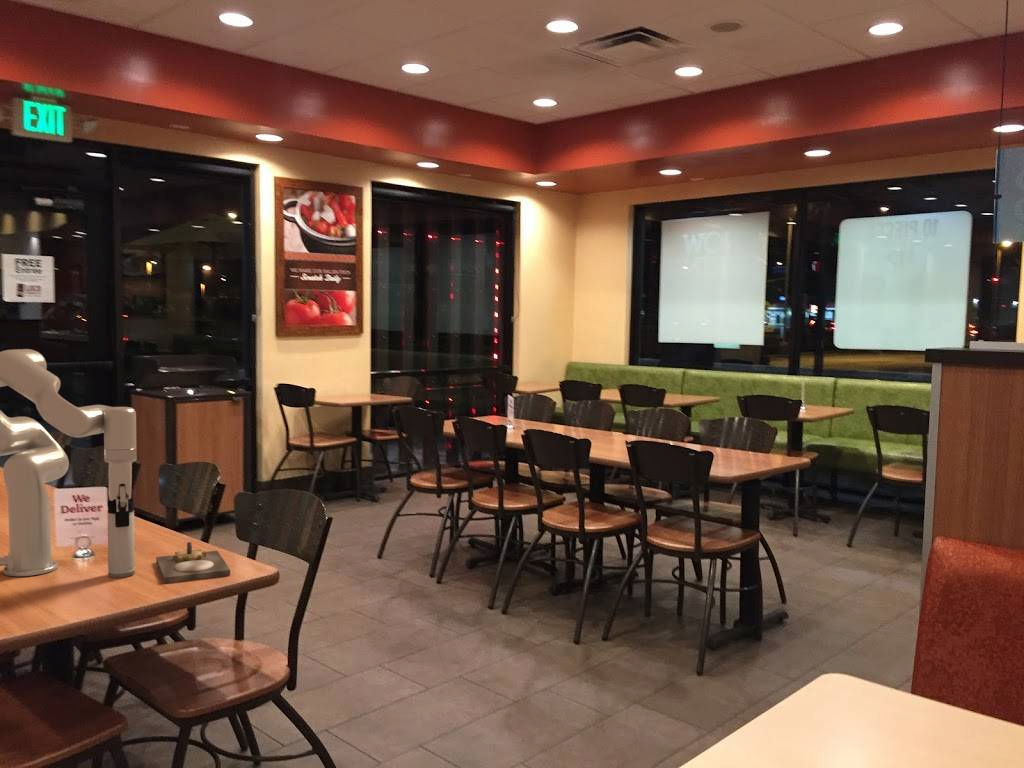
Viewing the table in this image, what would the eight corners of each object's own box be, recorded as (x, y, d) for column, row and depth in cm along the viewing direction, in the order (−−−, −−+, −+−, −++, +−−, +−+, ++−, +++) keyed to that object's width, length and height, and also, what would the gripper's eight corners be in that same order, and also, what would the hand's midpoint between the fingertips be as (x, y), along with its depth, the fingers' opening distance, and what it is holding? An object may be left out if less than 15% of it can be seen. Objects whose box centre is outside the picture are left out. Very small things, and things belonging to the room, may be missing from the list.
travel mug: (140, 571, 222) (139, 496, 221) (126, 578, 215) (125, 501, 214) (117, 570, 223) (116, 495, 221) (103, 577, 216) (102, 500, 215)
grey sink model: (164, 583, 212) (164, 561, 212) (156, 562, 230) (156, 541, 230) (230, 575, 220) (230, 554, 220) (217, 555, 238) (217, 535, 238)
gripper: (102, 450, 222) (103, 517, 224) (106, 461, 207) (107, 532, 209) (133, 449, 226) (134, 515, 227) (139, 459, 211) (140, 529, 212)
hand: (121, 522), depth 218 cm, fingers closed on travel mug, 6 cm apart
